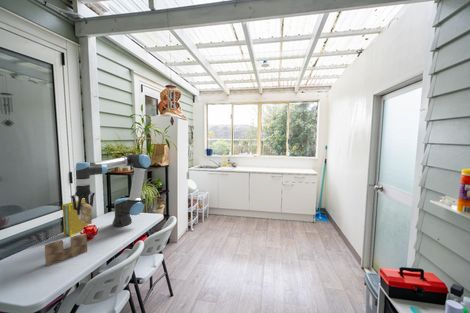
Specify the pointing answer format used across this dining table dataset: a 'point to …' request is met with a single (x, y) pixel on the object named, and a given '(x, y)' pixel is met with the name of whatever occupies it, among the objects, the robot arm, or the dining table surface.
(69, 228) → the book
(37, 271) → the dining table surface
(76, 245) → the brown wooden board
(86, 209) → the tan wooden slab
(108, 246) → the dining table surface
